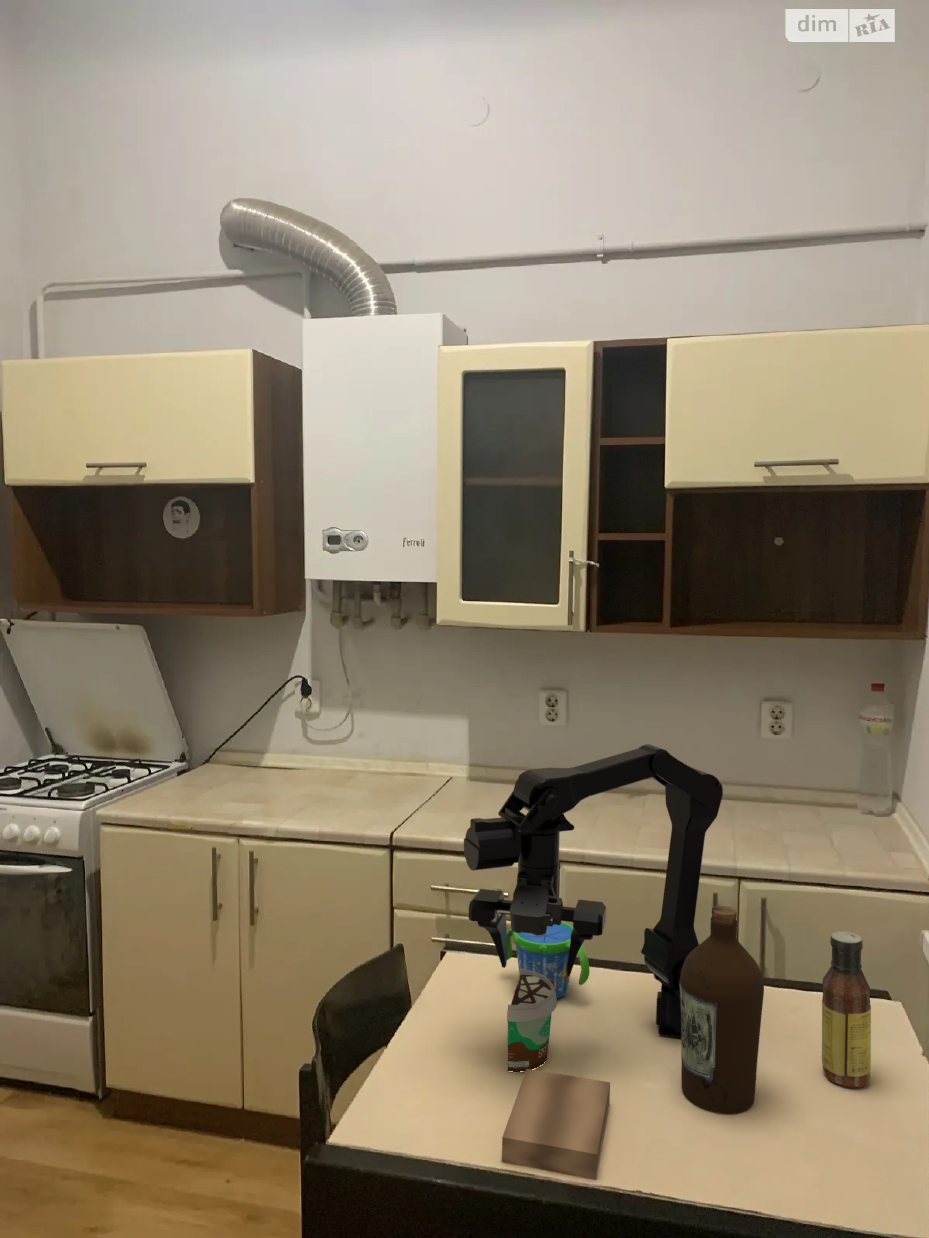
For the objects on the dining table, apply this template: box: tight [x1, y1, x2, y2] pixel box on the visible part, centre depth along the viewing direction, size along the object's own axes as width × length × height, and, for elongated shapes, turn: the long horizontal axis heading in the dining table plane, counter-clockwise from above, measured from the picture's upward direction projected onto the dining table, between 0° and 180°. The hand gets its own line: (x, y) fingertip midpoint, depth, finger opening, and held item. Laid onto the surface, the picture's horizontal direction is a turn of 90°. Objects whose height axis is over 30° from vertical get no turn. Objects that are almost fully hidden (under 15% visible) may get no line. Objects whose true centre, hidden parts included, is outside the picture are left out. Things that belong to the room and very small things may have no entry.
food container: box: [506, 969, 558, 1073], centre depth 130 cm, size 12×6×10 cm, turn 168°
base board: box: [501, 1069, 611, 1180], centre depth 113 cm, size 11×15×3 cm
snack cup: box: [507, 921, 590, 999], centre depth 149 cm, size 16×10×10 cm
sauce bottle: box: [821, 930, 872, 1089], centre depth 125 cm, size 6×6×20 cm
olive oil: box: [680, 905, 765, 1115], centre depth 121 cm, size 11×11×25 cm
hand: (536, 970), depth 129 cm, fingers open, 9 cm apart
